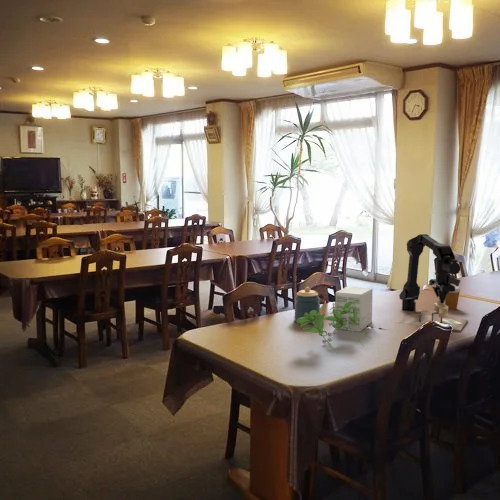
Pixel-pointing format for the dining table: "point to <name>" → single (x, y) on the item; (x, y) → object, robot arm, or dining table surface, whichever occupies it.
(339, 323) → the plant cuttings
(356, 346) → the dining table surface
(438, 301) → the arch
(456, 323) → the wire board
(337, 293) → the supplement box
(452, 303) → the disposable coffee cup
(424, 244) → the robot arm
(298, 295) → the canister
